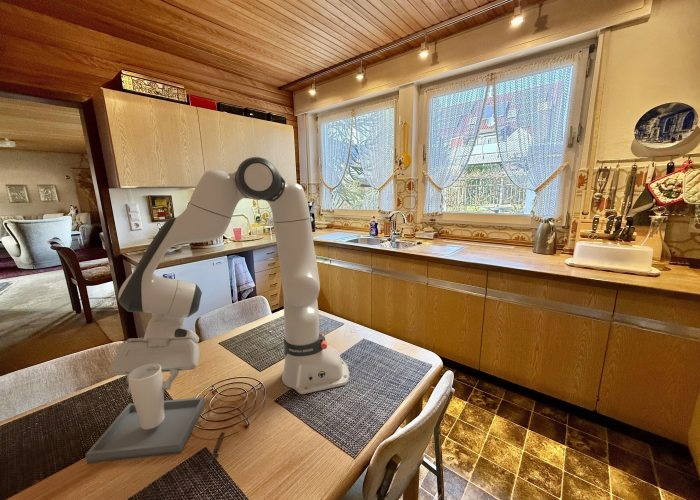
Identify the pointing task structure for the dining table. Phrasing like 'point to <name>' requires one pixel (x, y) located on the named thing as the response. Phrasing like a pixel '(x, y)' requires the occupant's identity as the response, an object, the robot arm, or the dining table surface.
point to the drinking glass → (148, 395)
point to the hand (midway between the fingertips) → (148, 390)
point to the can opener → (216, 448)
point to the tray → (148, 433)
